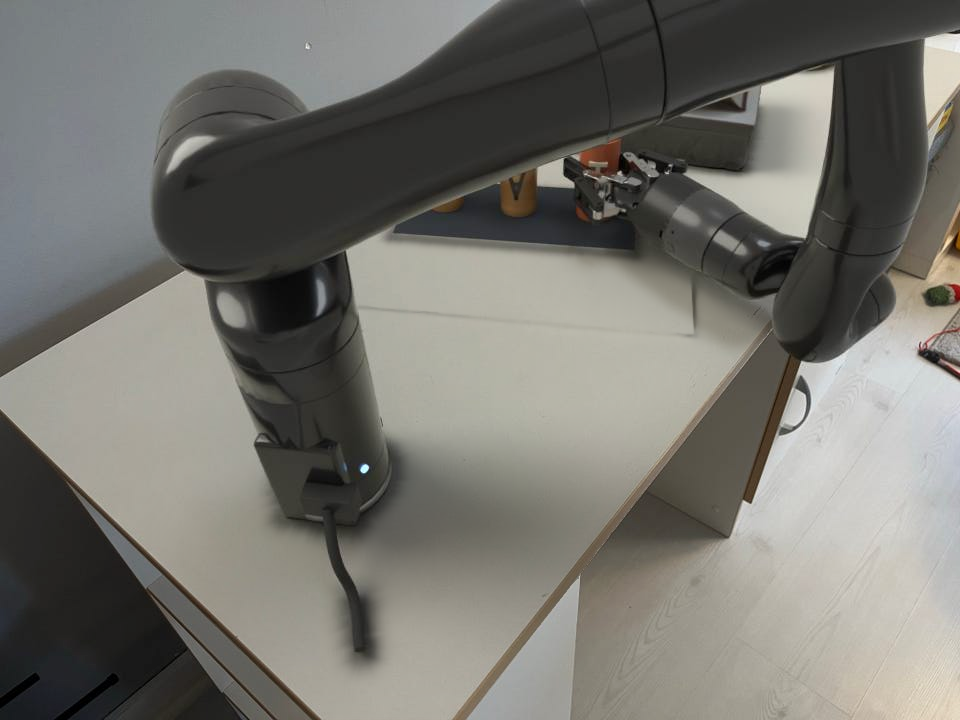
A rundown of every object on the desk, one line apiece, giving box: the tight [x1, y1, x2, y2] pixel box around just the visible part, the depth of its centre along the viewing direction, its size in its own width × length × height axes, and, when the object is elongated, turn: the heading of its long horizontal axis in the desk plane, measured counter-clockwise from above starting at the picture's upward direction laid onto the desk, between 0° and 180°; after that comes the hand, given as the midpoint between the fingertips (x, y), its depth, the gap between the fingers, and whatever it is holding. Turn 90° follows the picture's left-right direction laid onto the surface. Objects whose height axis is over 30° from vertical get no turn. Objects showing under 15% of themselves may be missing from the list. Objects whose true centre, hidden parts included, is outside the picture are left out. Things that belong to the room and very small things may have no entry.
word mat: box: [392, 183, 636, 251], centre depth 86 cm, size 12×28×1 cm, turn 80°
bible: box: [620, 86, 762, 171], centre depth 97 cm, size 23×27×10 cm
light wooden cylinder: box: [499, 167, 539, 217], centre depth 83 cm, size 5×4×10 cm
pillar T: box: [576, 139, 621, 222], centre depth 82 cm, size 4×4×10 cm
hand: (582, 157), depth 83 cm, fingers closed on pillar T, 4 cm apart
